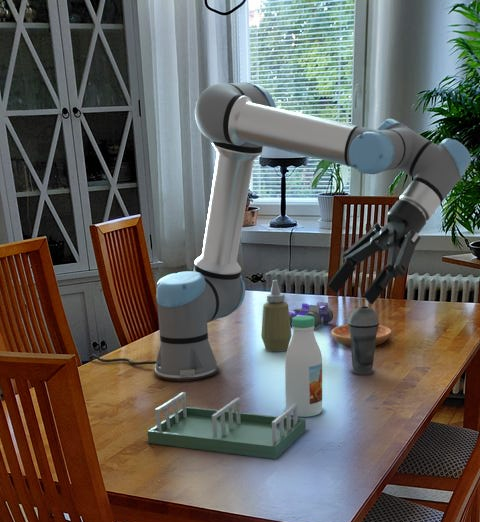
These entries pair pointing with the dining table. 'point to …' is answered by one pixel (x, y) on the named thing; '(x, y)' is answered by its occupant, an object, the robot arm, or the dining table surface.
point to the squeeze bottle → (276, 321)
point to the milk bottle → (303, 369)
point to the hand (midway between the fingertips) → (348, 294)
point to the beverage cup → (363, 337)
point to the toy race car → (314, 313)
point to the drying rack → (226, 429)
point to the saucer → (344, 338)
